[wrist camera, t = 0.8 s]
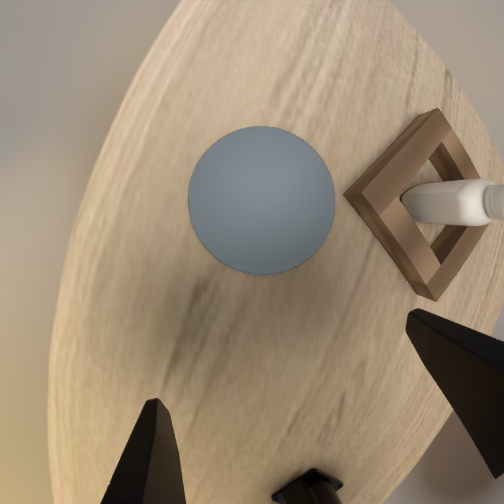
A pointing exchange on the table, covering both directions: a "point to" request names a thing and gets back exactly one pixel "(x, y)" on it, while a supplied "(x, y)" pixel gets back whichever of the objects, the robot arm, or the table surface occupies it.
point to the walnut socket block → (396, 216)
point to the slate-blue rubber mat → (261, 200)
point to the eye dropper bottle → (456, 202)
